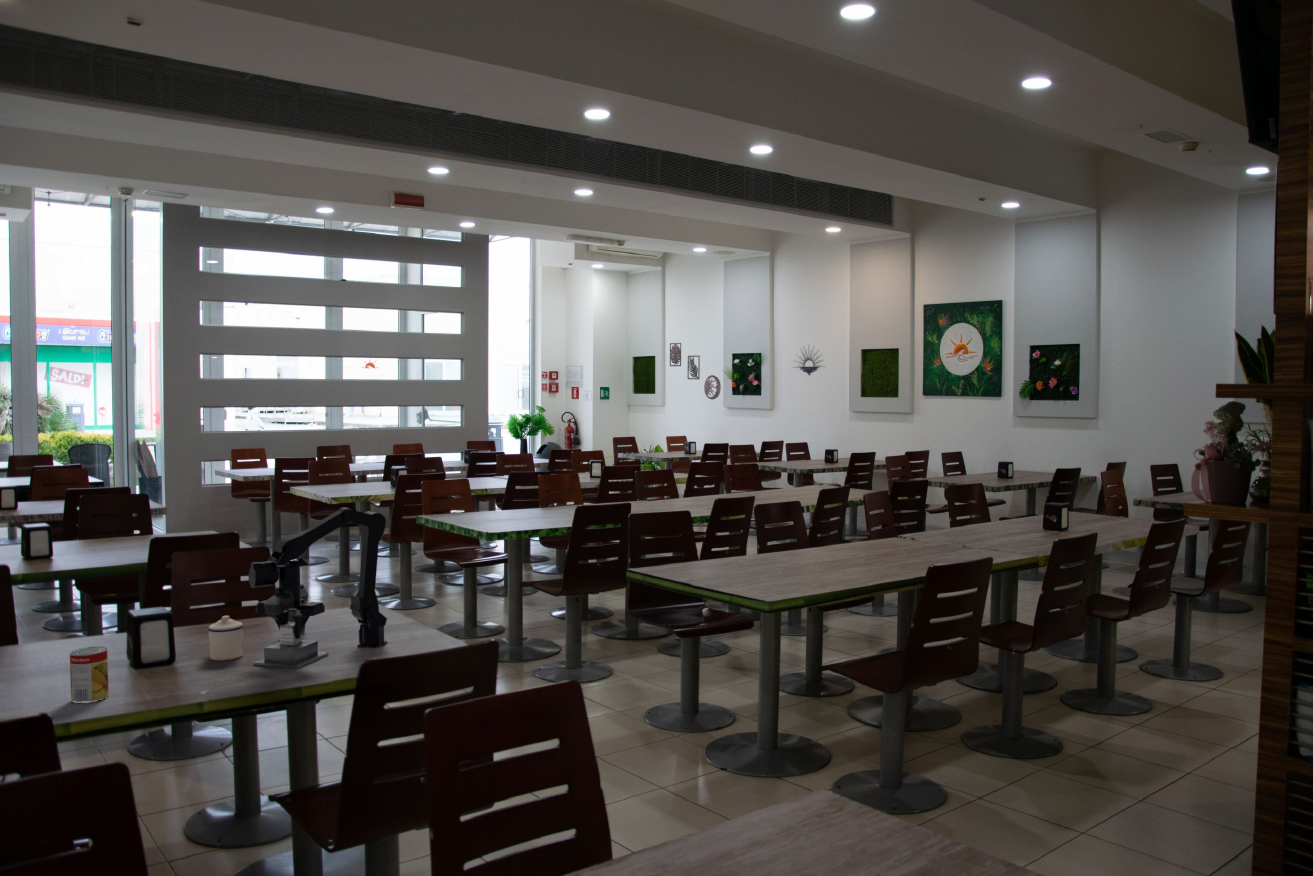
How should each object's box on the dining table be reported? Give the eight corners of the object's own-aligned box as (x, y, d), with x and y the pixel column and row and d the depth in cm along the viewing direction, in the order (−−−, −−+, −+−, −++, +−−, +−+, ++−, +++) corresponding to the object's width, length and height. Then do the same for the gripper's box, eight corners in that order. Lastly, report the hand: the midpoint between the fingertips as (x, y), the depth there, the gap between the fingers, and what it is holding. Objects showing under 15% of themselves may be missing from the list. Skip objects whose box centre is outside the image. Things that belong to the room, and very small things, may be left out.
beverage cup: (300, 635, 291) (299, 571, 290) (279, 634, 292) (278, 571, 292) (314, 630, 298) (312, 567, 297) (293, 629, 299) (291, 567, 299)
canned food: (114, 693, 234) (112, 645, 234) (100, 703, 226) (99, 654, 226) (80, 695, 233) (78, 647, 233) (65, 705, 225) (63, 655, 225)
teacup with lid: (250, 655, 269) (249, 614, 269) (222, 662, 261) (221, 621, 261) (224, 649, 275) (223, 610, 275) (195, 657, 267) (194, 616, 267)
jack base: (328, 655, 268) (327, 639, 268) (297, 668, 254) (296, 651, 254) (286, 652, 272) (286, 636, 272) (253, 665, 258) (253, 648, 258)
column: (302, 654, 265) (301, 622, 264) (292, 658, 260) (292, 626, 260) (289, 653, 266) (289, 622, 265) (280, 657, 262) (279, 625, 261)
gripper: (241, 587, 257) (243, 643, 258) (300, 590, 252) (301, 647, 253) (268, 579, 268) (270, 633, 268) (325, 582, 263) (326, 637, 263)
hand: (291, 638), depth 263 cm, fingers closed on column, 4 cm apart
